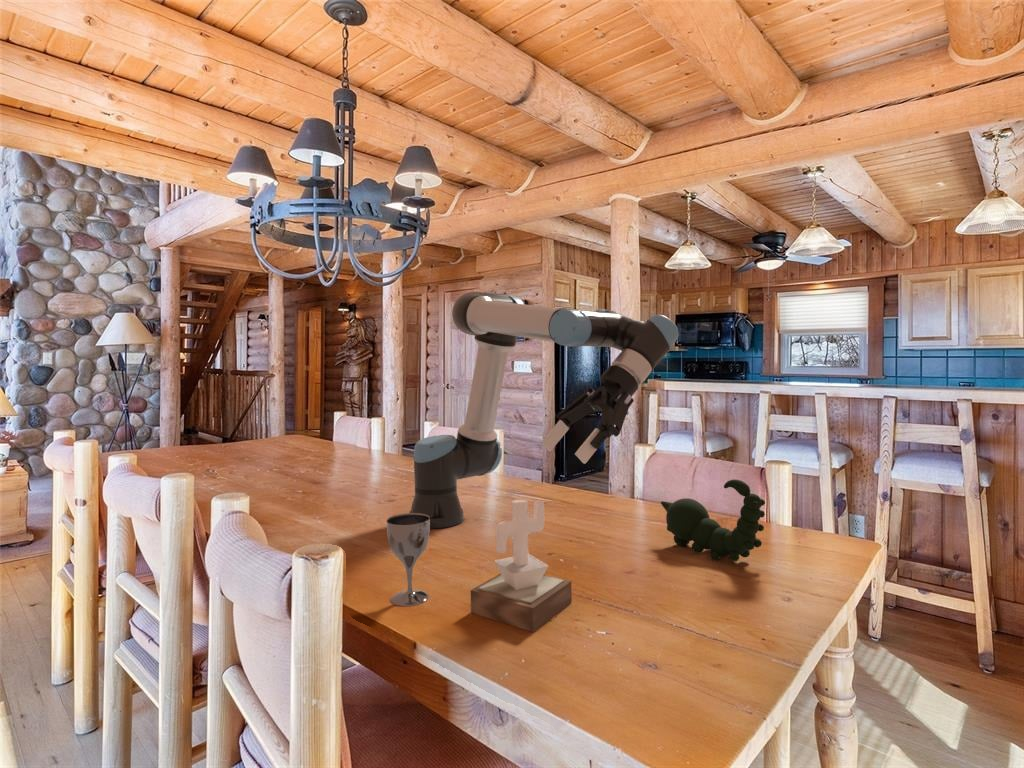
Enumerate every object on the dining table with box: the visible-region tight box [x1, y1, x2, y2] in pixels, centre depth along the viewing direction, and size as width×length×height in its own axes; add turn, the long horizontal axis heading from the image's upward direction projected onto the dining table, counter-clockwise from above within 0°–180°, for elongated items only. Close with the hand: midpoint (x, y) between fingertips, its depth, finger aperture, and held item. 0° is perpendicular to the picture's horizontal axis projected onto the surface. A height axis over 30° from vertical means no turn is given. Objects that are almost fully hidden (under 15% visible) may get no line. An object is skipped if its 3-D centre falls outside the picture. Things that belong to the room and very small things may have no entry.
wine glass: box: [386, 512, 431, 607], centre depth 102 cm, size 8×8×15 cm
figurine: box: [493, 499, 549, 590], centre depth 97 cm, size 7×9×15 cm
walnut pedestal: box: [470, 573, 573, 633], centre depth 97 cm, size 13×13×4 cm
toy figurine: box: [660, 478, 766, 562], centre depth 124 cm, size 10×19×26 cm
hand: (561, 452), depth 108 cm, fingers open, 13 cm apart
